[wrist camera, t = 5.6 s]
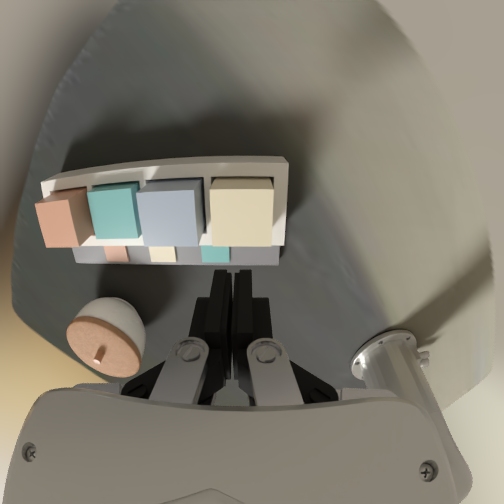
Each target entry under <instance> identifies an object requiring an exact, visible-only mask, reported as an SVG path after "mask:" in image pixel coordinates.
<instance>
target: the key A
mask: <svg viewBox="0 0 504 504" xmlns="http://www.w3.org/2000/svg"><path fill="white" fill-rule="evenodd" d="M35 206H36V211H37V215H38V219H39V223H40V227H41V230H42V234H43V238H44V241H45V244H46V247H80V246H81V245H82V244H83V243H84V242H85V241H86V240H87V239H88V238H89V237H90V236H91V235H92V234H93V233H94V232H95V231H94V227H93V222H92V218H91V213H90V208H89V203H88V197H87V186H83V187H75V188H68V189H62V190H58V191H56V192H54V193H52V194H51V195H49V196H47V197H46V198H44V199H42V200H41V201H39V202H37V203H36V204H35Z"/></svg>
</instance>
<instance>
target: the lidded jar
mask: <svg viewBox="0 0 504 504" xmlns="http://www.w3.org/2000/svg"><path fill="white" fill-rule="evenodd" d="M145 338H146V337H145V329H144V325H143V322H142V320H141V318H140V317H139V315H138V313H137V311H136V310H135V308H134V307H133V306H132V305H131V304H130V303H128V302H127V301H125V300H123V299H120V298H117V297H103V298H98V299H95V300H93V301H91V302H89V303H88V304H87V305H85V306H84V307H83V308H82V309H81V310H80V311H79V313H78V314H77V315H76V317H75V318H74V320H72V321H71V323H70V324H69V326H68V328H67V339H68V342H69V344H70V346H71V348H72V349H73V351H74V352H75V353H76V354H77V356H78V357H79V358H80V359H82V360H83V361H84V362H85V363H86V364H88V365H89V366H91V367H92V368H94V369H96V370H98V371H100V372H102V373H104V374H107V375H110V376H115V377H129V376H132V375H134V374H135V373H137V372H138V370H139V368H140V365H141V359H142V356H143V353H144V348H145Z"/></svg>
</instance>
